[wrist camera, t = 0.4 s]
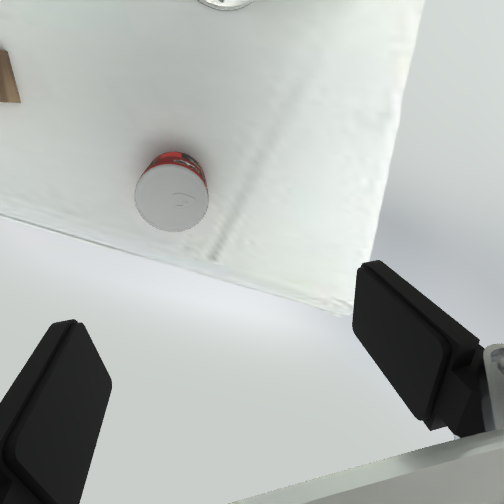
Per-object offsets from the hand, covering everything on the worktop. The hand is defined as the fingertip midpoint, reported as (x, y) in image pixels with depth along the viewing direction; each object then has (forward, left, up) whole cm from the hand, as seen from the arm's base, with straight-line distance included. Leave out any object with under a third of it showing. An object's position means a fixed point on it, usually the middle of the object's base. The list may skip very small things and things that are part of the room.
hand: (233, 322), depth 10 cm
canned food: (+3, -3, -35) cm, 35 cm away
